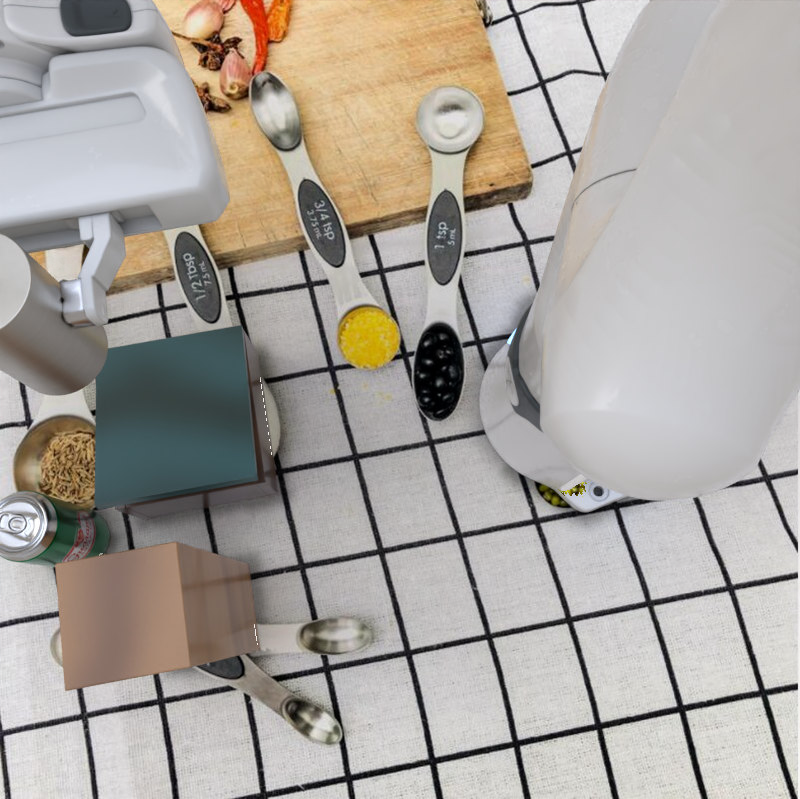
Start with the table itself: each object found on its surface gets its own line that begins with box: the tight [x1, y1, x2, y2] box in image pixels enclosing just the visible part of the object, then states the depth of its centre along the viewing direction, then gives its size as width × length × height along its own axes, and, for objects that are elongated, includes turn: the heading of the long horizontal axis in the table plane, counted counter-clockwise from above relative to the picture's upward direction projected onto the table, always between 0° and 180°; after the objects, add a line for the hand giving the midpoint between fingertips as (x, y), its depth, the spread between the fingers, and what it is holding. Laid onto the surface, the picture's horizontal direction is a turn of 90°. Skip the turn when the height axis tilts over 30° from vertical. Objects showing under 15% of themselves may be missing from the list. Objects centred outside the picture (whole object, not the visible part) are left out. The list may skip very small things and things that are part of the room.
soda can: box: [0, 490, 111, 568], centre depth 64 cm, size 5×5×12 cm
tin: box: [0, 233, 109, 397], centre depth 38 cm, size 5×5×9 cm
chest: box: [114, 330, 280, 520], centre depth 68 cm, size 13×12×7 cm
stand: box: [54, 541, 261, 692], centre depth 57 cm, size 7×7×22 cm
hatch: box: [94, 324, 258, 510], centre depth 63 cm, size 13×12×1 cm
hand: (19, 334), depth 37 cm, fingers closed on tin, 5 cm apart
